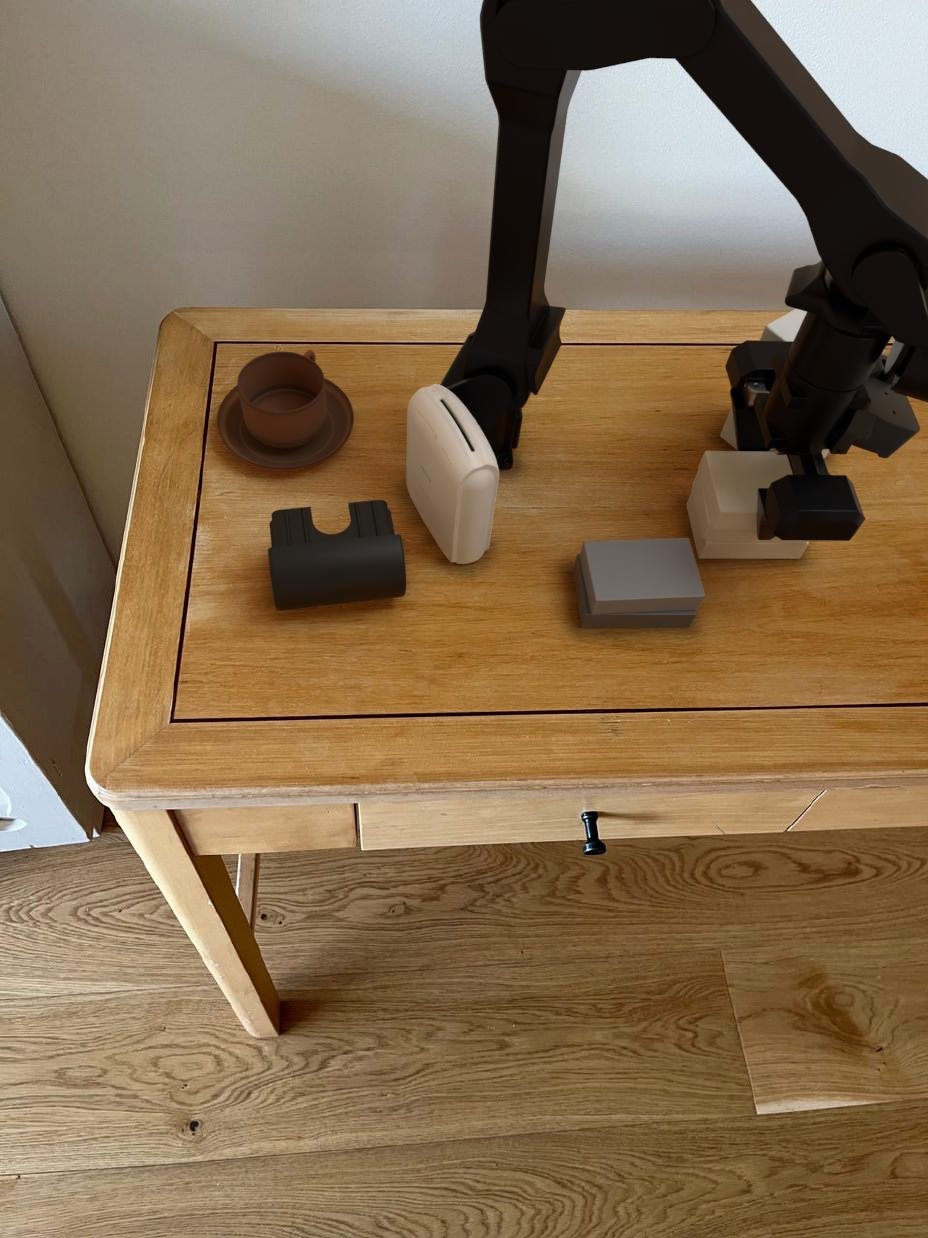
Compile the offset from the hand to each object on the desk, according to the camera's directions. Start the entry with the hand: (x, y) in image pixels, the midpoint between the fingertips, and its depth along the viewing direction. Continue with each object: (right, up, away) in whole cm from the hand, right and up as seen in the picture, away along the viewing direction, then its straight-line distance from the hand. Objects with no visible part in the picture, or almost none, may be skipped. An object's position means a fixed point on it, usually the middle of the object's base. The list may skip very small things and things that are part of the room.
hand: (754, 505), depth 79 cm
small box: (+4, +6, +9) cm, 12 cm away
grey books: (-11, -8, -2) cm, 13 cm away
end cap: (-35, -7, -3) cm, 36 cm away
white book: (0, 0, -1) cm, 1 cm away
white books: (0, -2, +3) cm, 4 cm away
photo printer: (-26, -1, +1) cm, 26 cm away
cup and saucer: (-41, +7, +6) cm, 42 cm away
